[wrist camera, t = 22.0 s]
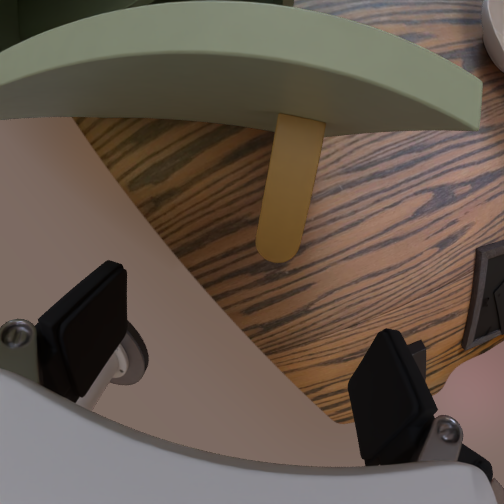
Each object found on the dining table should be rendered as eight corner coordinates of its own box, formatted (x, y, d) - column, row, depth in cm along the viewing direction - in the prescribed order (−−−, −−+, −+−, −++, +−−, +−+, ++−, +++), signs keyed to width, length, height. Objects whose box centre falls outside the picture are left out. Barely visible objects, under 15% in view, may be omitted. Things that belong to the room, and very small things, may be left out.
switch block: (421, 384, 39) (427, 400, 35) (370, 403, 41) (374, 420, 38) (421, 339, 35) (430, 356, 32) (361, 362, 38) (367, 380, 34)
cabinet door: (300, 192, 29) (369, 404, 5) (100, 164, 30) (-92, 233, 6) (313, 130, 27) (484, 80, 3) (106, 110, 27) (-96, 123, 3)
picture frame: (511, 322, 33) (528, 231, 27) (516, 328, 31) (535, 236, 25) (461, 345, 35) (476, 248, 29) (466, 352, 33) (483, 253, 27)
